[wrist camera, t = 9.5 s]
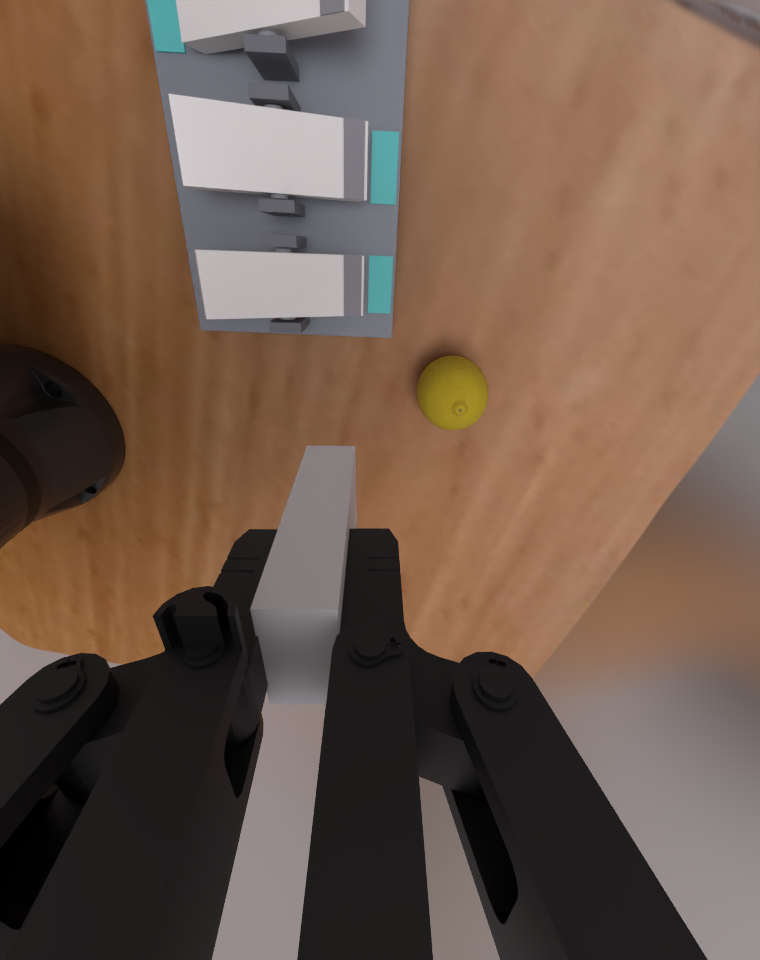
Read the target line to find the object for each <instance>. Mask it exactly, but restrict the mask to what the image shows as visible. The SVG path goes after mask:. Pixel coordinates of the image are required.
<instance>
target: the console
mask: <svg viewBox="0 0 760 960" xmlns="http://www.w3.org/2000/svg"><path fill="white" fill-rule="evenodd" d="M145 4H146V10H147V16H148V22H149V28H150V33H151V39H152V45H153V51H154V57H155V63H156V69H157V75H158V81H159V87H160V92H161V98H162V104H163V110H164V116H165V122H166V128H167V134H168V140H169V145H170V151H171V157H172V163H173V169H174V175H175V181H176V187H177V193H178V198H179V204H180V210H181V216H182V222H183V228H184V234H185V240H186V246H187V251H188V257H189V263H190V269H191V275H192V281H193V287H194V293H195V299H196V305H197V310H198V316H199V322H200V328H201V330H205V331H231V332H256V333H281V334H306V335H331V336H356V337H382V338H392V321H393V302H394V283H395V263H396V244H397V225H398V205H399V186H400V167H401V147H402V128H403V109H404V90H405V70H406V51H407V32H408V12H409V0H366V27H364V28H358V29H352V30H346V31H340V32H334V33H329V34H323V35H317V36H311V37H305V38H299V39H293V40H288V41H287V39H286V37H285V36H276V35H259V34H243V38H244V48H241V49H235V50H229V51H223V52H217V53H211V54H204V53H202V52H200V51H198V50H196V49H194V48H192V47H190V46H188V45H186V44H184V43H182V40H181V33H180V26H179V19H178V12H177V5H176V0H145ZM168 94H175V95H183V96H190V97H197V98H204V99H211V100H219V101H226V102H233V103H240V104H247V105H255V106H262V107H264V105H268V104H271V105H278V106H281V107H283V110H291V111H298V112H305V113H312V114H319V115H327V116H334V117H341V118H344V117H345V118H352V119H359V120H365V121H368V160H367V200H366V201H362V202H350V201H337V200H324V199H311V198H298V197H288V200H280V199H271V197H270V195H259V194H247V193H234V192H221V191H208V190H195V189H185V187H184V186H183V181H182V174H181V168H180V162H179V156H178V150H177V144H176V138H175V131H174V125H173V119H172V113H171V107H170V101H169V95H168ZM275 248H280V249H291V251H292V253H319V254H347V255H362V256H364V297H363V316H332V317H295V320H282V319H280V318H246V319H206V317H205V315H204V309H203V303H202V297H201V290H200V284H199V278H198V272H197V266H196V260H195V253H194V249H208V250H236V251H264V252H275Z"/></svg>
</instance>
